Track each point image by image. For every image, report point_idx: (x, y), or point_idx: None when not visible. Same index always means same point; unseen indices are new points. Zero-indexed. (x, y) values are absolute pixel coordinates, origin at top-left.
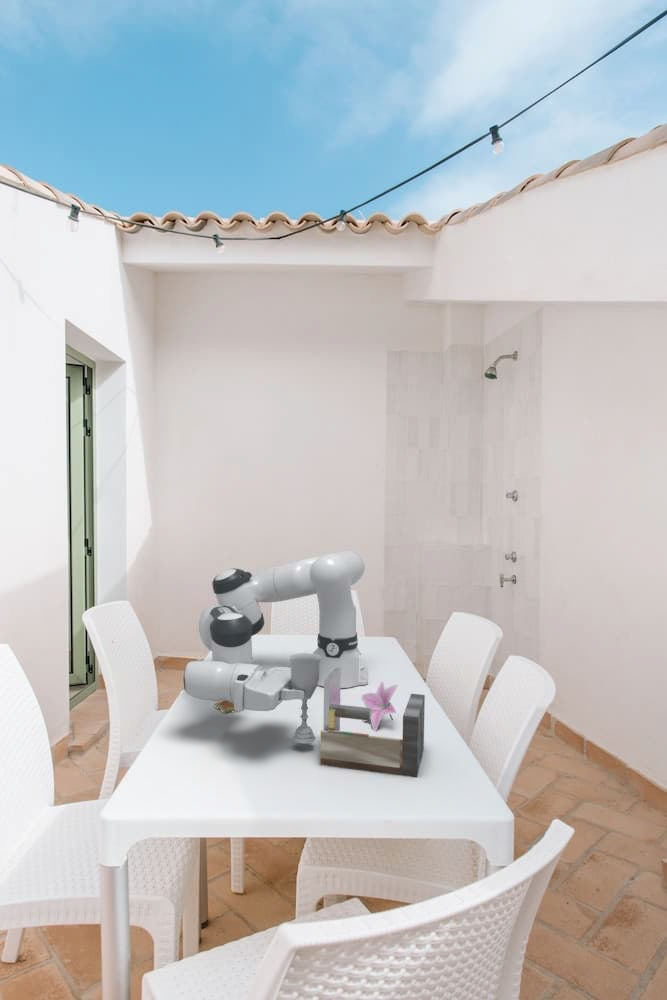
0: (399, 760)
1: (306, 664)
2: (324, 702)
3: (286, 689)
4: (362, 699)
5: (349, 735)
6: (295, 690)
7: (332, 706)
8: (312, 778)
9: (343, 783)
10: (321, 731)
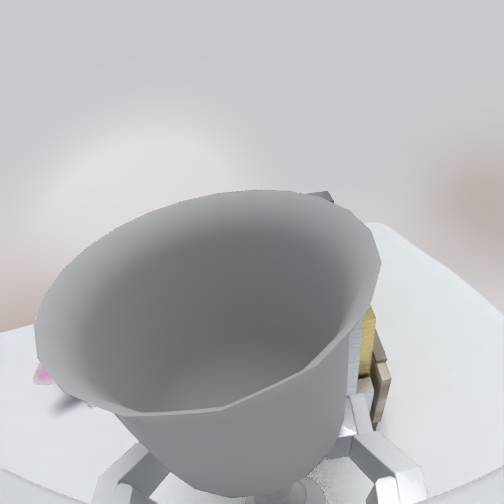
0: None
1: (328, 238)
2: (361, 319)
3: (396, 483)
4: (45, 382)
5: None
6: (370, 434)
7: None
8: (444, 411)
9: (424, 356)
10: (389, 377)
